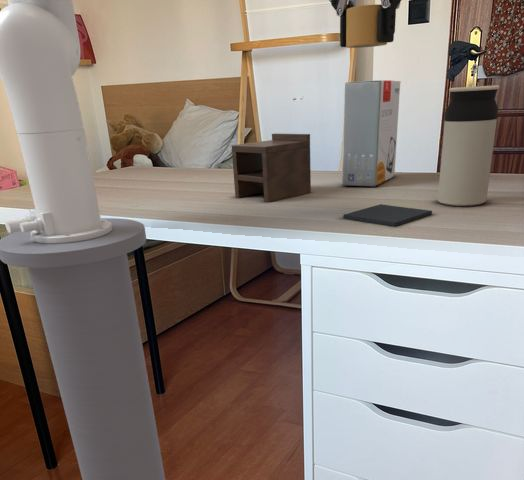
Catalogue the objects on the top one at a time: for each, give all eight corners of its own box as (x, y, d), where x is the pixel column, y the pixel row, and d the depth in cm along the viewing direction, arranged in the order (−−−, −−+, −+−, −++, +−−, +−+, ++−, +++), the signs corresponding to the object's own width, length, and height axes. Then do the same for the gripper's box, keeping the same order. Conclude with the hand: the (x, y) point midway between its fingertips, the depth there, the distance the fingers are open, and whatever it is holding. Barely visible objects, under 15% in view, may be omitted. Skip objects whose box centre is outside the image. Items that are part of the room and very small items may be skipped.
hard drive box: (376, 187, 109) (380, 80, 101) (341, 186, 113) (342, 82, 104) (395, 176, 121) (401, 79, 113) (363, 175, 125) (366, 81, 116)
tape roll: (370, 43, 75) (372, 2, 73) (337, 48, 79) (338, 9, 77) (395, 44, 78) (397, 5, 76) (362, 48, 82) (363, 11, 80)
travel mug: (480, 208, 86) (495, 85, 79) (431, 205, 90) (441, 88, 83) (490, 199, 92) (505, 84, 85) (444, 197, 96) (454, 87, 89)
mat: (395, 226, 78) (395, 222, 78) (343, 218, 85) (343, 214, 85) (431, 214, 84) (432, 210, 84) (380, 207, 91) (380, 204, 91)
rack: (268, 202, 101) (265, 139, 96) (235, 197, 108) (230, 138, 103) (310, 192, 108) (310, 133, 103) (277, 188, 115) (275, 133, 110)
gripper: (303, -97, 74) (306, 50, 82) (411, -138, 62) (401, 37, 70) (338, -88, 79) (337, 50, 86) (444, -126, 67) (431, 38, 75)
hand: (366, 43), depth 78 cm, fingers closed on tape roll, 6 cm apart
